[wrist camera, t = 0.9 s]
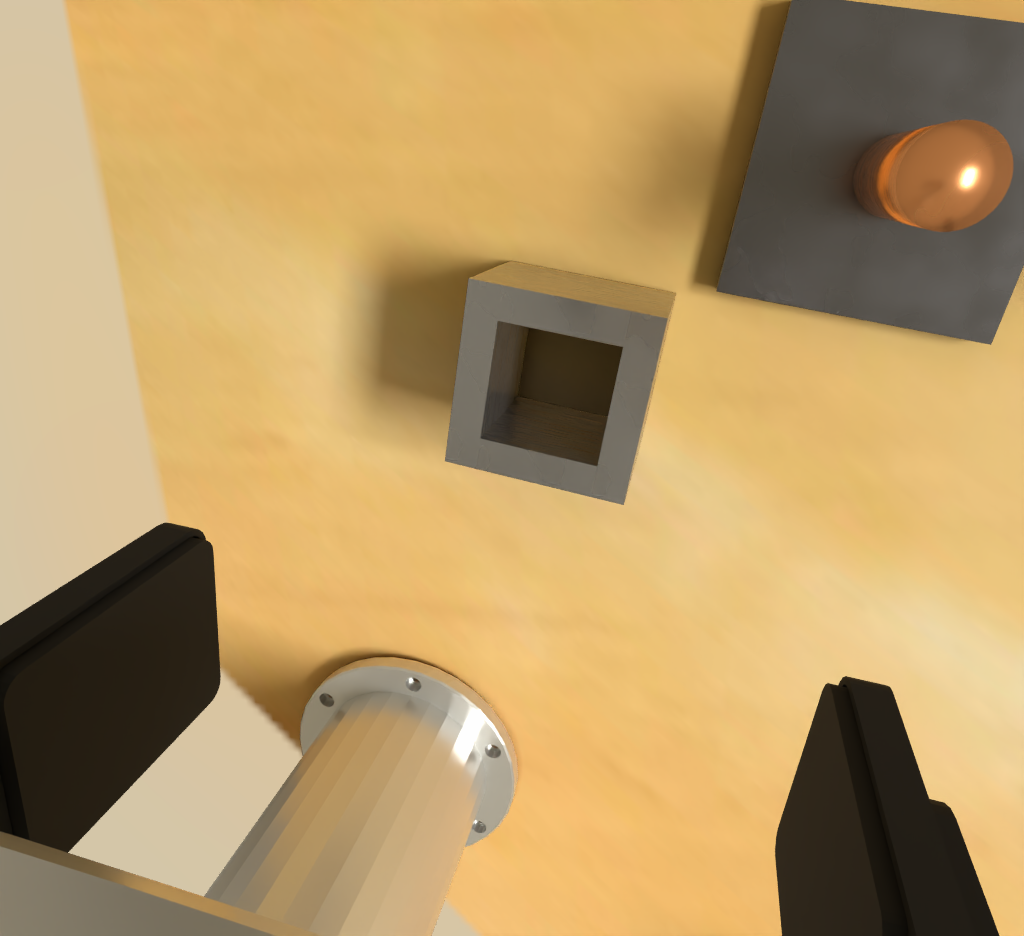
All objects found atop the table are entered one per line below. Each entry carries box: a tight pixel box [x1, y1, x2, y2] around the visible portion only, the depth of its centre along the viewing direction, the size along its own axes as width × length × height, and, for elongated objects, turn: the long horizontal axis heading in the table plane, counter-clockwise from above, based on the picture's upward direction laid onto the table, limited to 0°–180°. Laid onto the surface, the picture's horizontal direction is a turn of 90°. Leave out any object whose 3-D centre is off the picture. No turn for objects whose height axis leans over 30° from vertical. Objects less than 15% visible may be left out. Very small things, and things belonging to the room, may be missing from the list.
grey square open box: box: [445, 261, 676, 505], centre depth 30 cm, size 7×7×6 cm
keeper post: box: [716, 0, 1024, 345], centre depth 24 cm, size 10×10×8 cm
